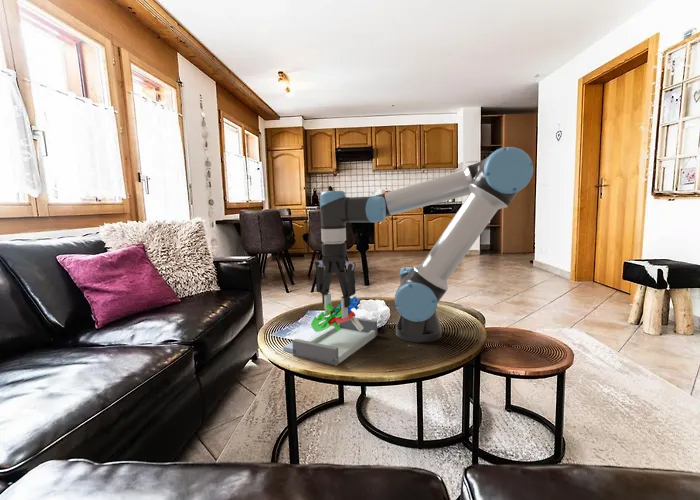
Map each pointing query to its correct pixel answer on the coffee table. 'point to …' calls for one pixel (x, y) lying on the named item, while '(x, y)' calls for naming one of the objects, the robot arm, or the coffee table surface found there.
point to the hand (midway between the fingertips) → (336, 315)
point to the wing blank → (289, 347)
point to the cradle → (336, 342)
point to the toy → (336, 317)
